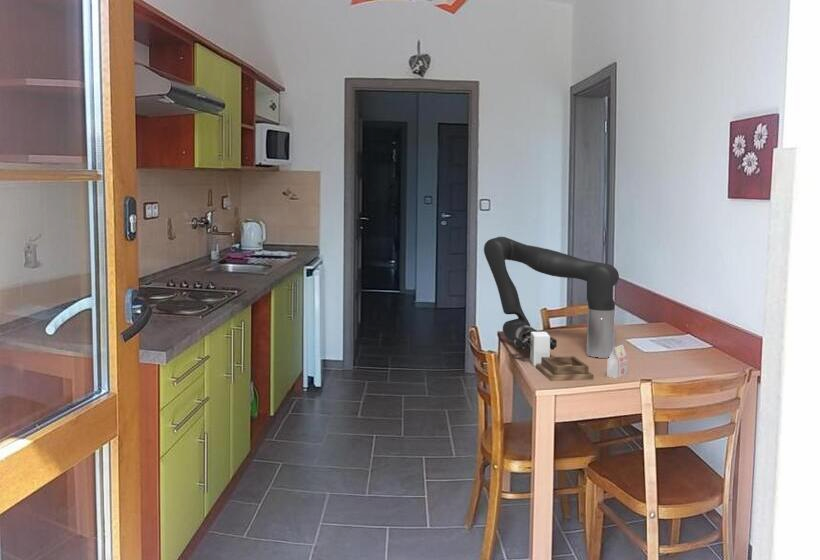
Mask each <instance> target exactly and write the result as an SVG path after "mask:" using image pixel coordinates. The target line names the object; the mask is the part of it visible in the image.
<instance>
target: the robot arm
mask: <svg viewBox="0 0 820 560" xmlns="http://www.w3.org/2000/svg"><path fill="white" fill-rule="evenodd" d="M483 253H484V257H485V259H486V262H487V264H488V266H489V269H490V271H491V273H492V276H493V279H494V282H495V285H496V287H497V292H498V295H499V299H500V304H501V307H502V312H503V313H504V314H505V315H516V317H517V318H514V319H510V320H507V321H505V322H504V323H503V325H502V332H503V334H504V336H505V337H506V338H507V339H508V340H510V341H513V342H514V343H513V345H514V346H515V347H516V348H517V349H520V348H521V349H525V350H526V351H530V348H531V332H539V331H538V330H536V329H535V328H534V327H532V326H531V324H530V322H529V320H528V318H527V317H526V314H525V312H524V310H523V307H522V305H521V301H520V297H519V294H518V290H517V287H516V285H515V284H514V282H513V280H512V278H511V276H510V275H509V272H508V270H507V266H506V265H507V264H506V260H507V261H513V262H517V263H521V264H524V265H526V266H527V267H528V268H530V269H532V270H534V271H535V272H538V273H541V274H544V275H548V276H550V277H551V276H552V277H555V278H556V277H557V278H567V279H577V280H582V281H586V300H587V301H586V302H587V303H588V304H587V329H586V330H587V331H586V332H587V333H586V350H585V351H586V353H585V354H586V355H587V356H588V357H590V356H591V358H595V357H598V358H599V359H608V357H609V356H610V354H611V352H612V350H613V348H614V347H616V334H617V333H616V330H615V309H616V303H615V300H614V297H613V287H614V286H615V285H617V283H618V282H619V278H620V274H619V271H618V269H617V268H616V267H615V266H614V265H612V264H609V263H603V262H597V261H596V262H595V261H590V260H585V259H582V258H578V257H576V256H573V255H569V254H566V253H563V252H560V251H557V250H553V249H549V248H544V247H540V246H534V245H528V244H525V243H522V242H519V241H517V240H514V239H512V238H508V237H506V236H497V237H493V238H491V239H490V238H489V240H487V241H486V242H485V244H484V246H483ZM557 342H558V341H557V339H556V338H554V337H552V336H550V351H551V350H552V351H553V350H555V348H557V345H558V344H557ZM598 358H597V359H598Z"/></svg>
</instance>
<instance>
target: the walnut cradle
mask: <svg viewBox="0 0 820 560" xmlns="http://www.w3.org/2000/svg"><path fill="white" fill-rule="evenodd" d="M535 367H536V370H538V371H539V372H540V373H541V374H542V375H544V376H545V377H546V378H547V379H548V380H549V381H551V382H552V381H554V382H556V381H557V382H559V381H560V382H561V381H584V380H583V379H593V380H594V377H595V376H594V374H593V373H591V372H590V371H589V365H587V364H586V363H585V362H583V361H582V360H580V359H578V358H577V357H576V356H573V355H571V356H550V357H541V364H536V366H535Z"/></svg>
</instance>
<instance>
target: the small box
mask: <svg viewBox="0 0 820 560" xmlns="http://www.w3.org/2000/svg"><path fill="white" fill-rule="evenodd" d="M550 337H551V335H550V334H549V333H548V332H547V331H538V332H531V348H530V350H529V351H530V357H529V360H530V363H531V364H532V365H533V367H536V364H541V357H551V349H550Z"/></svg>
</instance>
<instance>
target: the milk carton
mask: <svg viewBox="0 0 820 560" xmlns="http://www.w3.org/2000/svg"><path fill="white" fill-rule="evenodd" d="M606 363H607V364H606V377H607V376H609V377H613V378H620V377H622V376H624V375H627V374H628V356H627V353H626V351H625V347H624V344H620V345H617V346H615V347H614V348H613V350H612V352H611V354H610V356H609V358H607V360H606ZM624 377H625V376H624ZM622 378H623V377H622ZM620 379H621V378H620Z"/></svg>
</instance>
